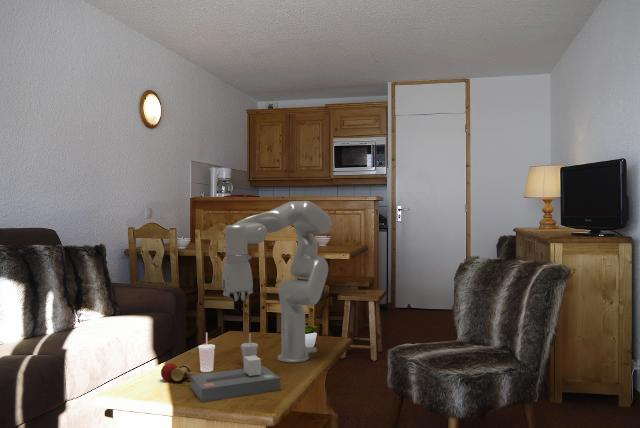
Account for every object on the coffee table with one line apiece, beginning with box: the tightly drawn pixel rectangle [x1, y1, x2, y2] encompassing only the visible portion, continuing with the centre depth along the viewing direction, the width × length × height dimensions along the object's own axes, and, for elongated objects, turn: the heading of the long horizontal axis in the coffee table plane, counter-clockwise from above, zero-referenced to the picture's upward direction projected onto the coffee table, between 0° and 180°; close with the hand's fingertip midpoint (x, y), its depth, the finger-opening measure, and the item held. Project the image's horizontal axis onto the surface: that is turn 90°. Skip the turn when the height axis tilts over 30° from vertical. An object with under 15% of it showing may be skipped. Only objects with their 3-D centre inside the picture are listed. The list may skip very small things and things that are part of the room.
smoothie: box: [240, 332, 259, 363], centre depth 202 cm, size 6×6×14 cm
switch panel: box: [189, 365, 281, 403], centre depth 182 cm, size 26×19×4 cm
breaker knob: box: [243, 355, 262, 376], centre depth 183 cm, size 4×6×5 cm, turn 26°
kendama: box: [160, 362, 206, 382], centre depth 190 cm, size 8×6×18 cm
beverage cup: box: [198, 332, 216, 373], centre depth 203 cm, size 6×6×14 cm
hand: (238, 311), depth 192 cm, fingers closed
